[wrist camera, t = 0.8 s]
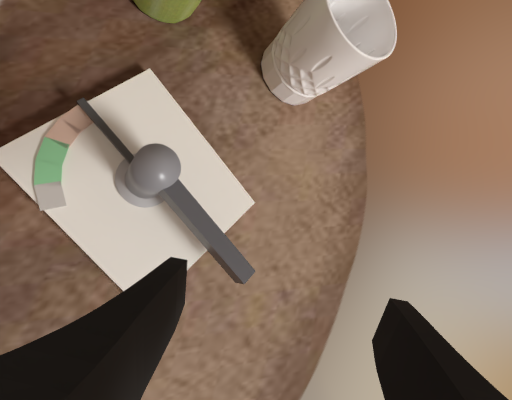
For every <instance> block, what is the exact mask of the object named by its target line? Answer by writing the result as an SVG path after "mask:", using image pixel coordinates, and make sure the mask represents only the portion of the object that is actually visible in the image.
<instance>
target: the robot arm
mask: <svg viewBox="0 0 512 400" xmlns="http://www.w3.org/2000/svg"><path fill="white" fill-rule="evenodd" d="M186 276H187V260H185V259H180V258H174V257H170V258H168V259H167V260H166V261H164V262H163V263H162V264H160V265H159V266H158V267H156V268H155V269H154V270H152V271H151V272H150V273H148V274H147V275H146V276H144V277H143V278H142V279H140V280H139V281H137V282H136V283H135V284H133V285H132V286H130V287H129V288H128V289H126V290H125V291H123V292H122V293H120V294H119V295H117V296H116V297H114V298H113V299H111V300H109V301H108V302H106V303H105V304H103V305H102V306H100V307H99V308H97V309H95V310H93V311H92V312H90V313H88V314H87V315H85V316H83V317H81V318H79V319H78V320H76V321H74V322H72V323H70V324H68V325H66V326H64V327H62V328H60V329H58V330H56V331H54V332H52V333H50V334H48V335H46V336H43V337H41V338H39V339H37V340H35V341H33V342H31V343H28V344H26V345H24V346H22V347H19V348H17V349H15V350H12V351H10V352H7V353H5V354H3V355H0V400H141V397H142V395H143V393H144V391H145V389H146V387H147V385H148V383H149V381H150V379H151V377H152V375H153V373H154V371H155V369H156V367H157V365H158V363H159V361H160V359H161V357H162V355H163V353H164V351H165V349H166V347H167V345H168V343H169V341H170V339H171V337H172V335H173V333H174V331H175V329H176V326H177V324H178V321H179V318H180V316H181V313H182V310H183V307H184V304H185V291H186ZM372 344H373V351H374V358H375V363H376V369H377V373H378V377H379V381H380V384H381V387H382V391H383V395H384V398H385V400H508V399H507V398H506V397H505V396H504V395H502V394H501V393H500V392H499V391H498V390H497V389H496V388H494V386H492V384H490V383H489V382H488V381H487V380H486V379H485V378H484V377H483V376H482V375H481V374H480V373H479V372H477V371H476V370H475V369H474V368H473V367H472V366H471V365H470V364H469V363H468V362H467V361H466V360H465V359H464V358H463V357H462V356H461V355H460V354H459V353H458V352H457V351H456V350H455V349H454V348H453V347H452V346H451V345H450V344H449V343H448V342H447V341H446V340H445V339H444V338H443V337H442V336H441V335H440V334H439V333H438V332H437V331H436V330H435V329H434V327H433V326H432V325H431V324H430V323H429V322H428V321H427V320H426V319H425V318H424V317H423V316H422V315H421V314H420V313H419V312H418V311H417V310H416V309H415V308H414V307H413V306H412V305H411V304H410V303H409V302H407V301H402V300H397V299H391V298H390V299H389V301H388V304H387V306H386V308H385V311H384V313H383V316H382V318H381V320H380V323H379V325H378V328H377V330H376V332H375V335H374V337H373V339H372Z"/></svg>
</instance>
